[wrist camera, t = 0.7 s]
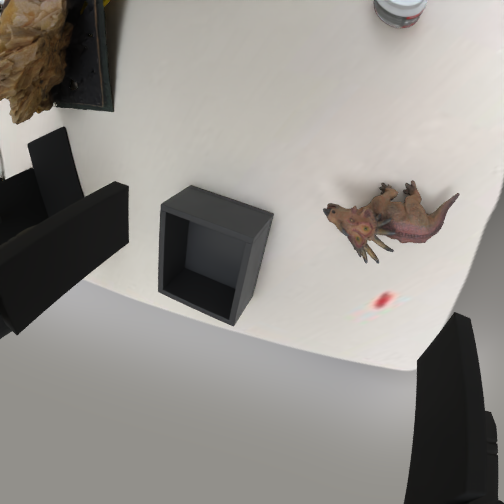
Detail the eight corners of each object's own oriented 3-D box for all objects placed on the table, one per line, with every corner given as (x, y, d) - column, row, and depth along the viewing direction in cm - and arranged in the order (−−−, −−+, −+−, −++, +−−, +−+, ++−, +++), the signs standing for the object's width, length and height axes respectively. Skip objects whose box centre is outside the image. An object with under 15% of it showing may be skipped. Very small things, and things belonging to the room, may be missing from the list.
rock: (108, -52, 22) (-1, -33, 12) (118, 110, 41) (40, 173, 31) (17, -18, 25) (-66, 16, 15) (35, 105, 44) (-30, 155, 34)
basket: (190, 185, 42) (160, 203, 36) (273, 213, 39) (253, 238, 34) (182, 267, 49) (158, 291, 44) (252, 296, 47) (233, 326, 41)
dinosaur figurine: (340, 232, 37) (327, 275, 30) (334, 184, 35) (319, 216, 27) (453, 229, 31) (470, 272, 24) (454, 179, 29) (476, 211, 22)
